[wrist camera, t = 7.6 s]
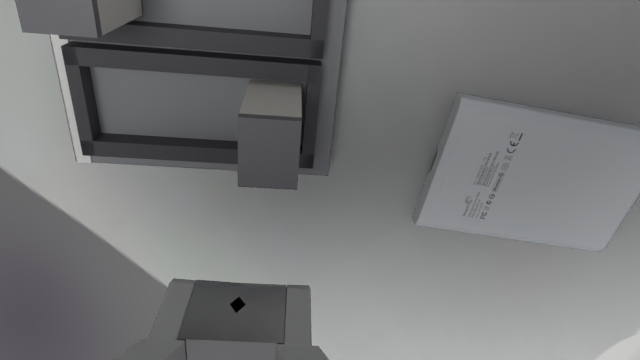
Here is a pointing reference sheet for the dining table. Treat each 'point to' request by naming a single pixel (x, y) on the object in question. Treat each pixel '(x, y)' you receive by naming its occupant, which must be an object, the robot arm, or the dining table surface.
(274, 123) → the block
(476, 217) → the external hard drive
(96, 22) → the block
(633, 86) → the dining table surface
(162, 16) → the panel
